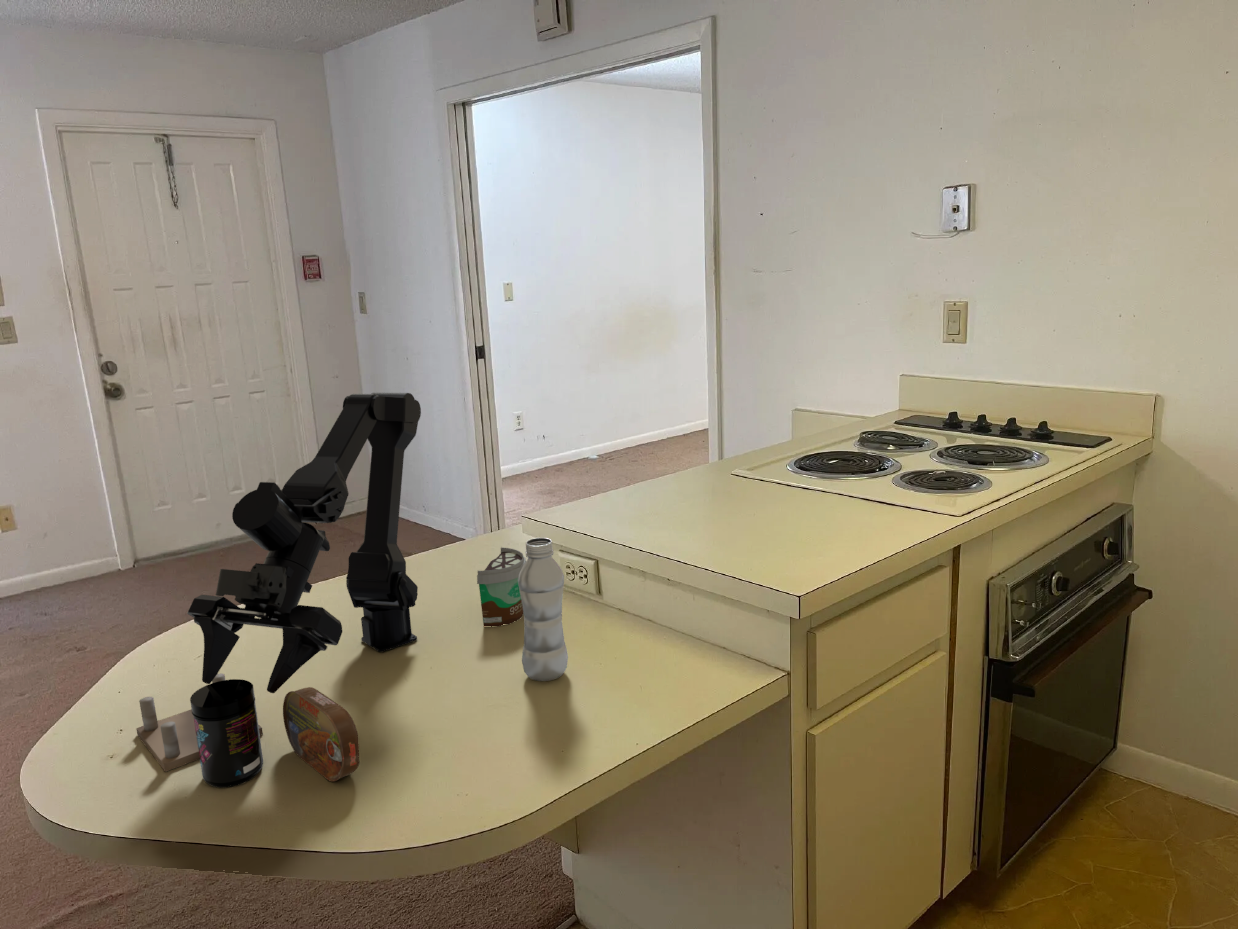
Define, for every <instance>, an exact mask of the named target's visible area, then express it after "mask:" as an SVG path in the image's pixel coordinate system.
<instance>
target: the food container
mask: <svg viewBox="0 0 1238 929" xmlns="http://www.w3.org/2000/svg"><path fill="white" fill-rule="evenodd" d="M526 561H527V559H526V556H524V553H523V552H521V551H520V550H518V549H515V548H509V547H502V546H501V547H500V553H499V555H498V556H497V557H496V558H494V559H492V560H491V561H490V562H489V563H488V564H487V566H486V567H485V569H484V570H477V575H476V584H477V585H478V588H479V589H478V590H479V597H480V606H481V615H482V623H483V627H484V626H491V627H490V628H493V627H492V626H497V627H502V626H501V625H503V624H508V625H510V623H511V624H513V622H514V621H516V622H517V620H518V621H519V620H521V619H522V617H524V614H523V605H522V600H521V595H520V590H519V585H518V577H519V573H520V571H521V569H522V567H523V565H524V564H525V562H526ZM520 618H521V619H520ZM514 623H515V622H514ZM503 626H504V625H503Z"/></svg>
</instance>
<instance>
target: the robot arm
mask: <svg viewBox="0 0 1238 929" xmlns="http://www.w3.org/2000/svg"><path fill="white" fill-rule="evenodd" d="M421 414H422V409H421V405H420V402H419V400H417V399H415V397H414V395H413V394H412V393H410V392H372V393H352V394H350V395H346V396H345V398H344V399H343V403H342V409H341V411H340V413H339V415H338V417H337V418H336V421H334V424H333V425H332V426H331V429H330V431H329V432H328V434H327V436H326V438H325V439H324V441H323V443H322V444H321V446H320V447H319V449H318V451H317V453H316V454H315V456H314V458H313V459H312V460H311V461H310V462H309V463H306V464H305V465H303V466H301V467H299V468H297V469H296V470H295V471H294V472H293V474H292V475H291V476H290V477H289V478H288V480H287V481H286V482H285V483H284V485H283V486H282V489H281V487H280V486H279V485H278V484H277V483H276V482H275V481H260V482H259V483H258V486H257V488H256V489H255V490H252V491H250V492H248V493H247V494H245V495H244V496H243V497H242V498H241V499H239V501H237V502H236V503H235V505H234V507H233V509H232V513H231V514H232V516H231V517H232V520H233V524H234V525H235V526H236V527H237V528H238V529H239V530H240V531H242V532H243V533H244V535H246V536H247V537H248V538H249V539H250V540H252V541H253V542H254V543H255V544H256V545H257V546H259V547H260V548H261V549H263V550H265V551H268V552H267V554H266V556H265V559H264V561H263V563H257V562H256V563H255V564H254V565H253V566H252V567H251V569H250V571H246V570H235V569H226V568H220V570H219V576H218V579H217V580H218V581H217V586H216V591H215V595H208V594H200V595H198V596H196V597H195V598H194V597H193V599H192V602H191V604H190V607H189V608H188V611H187V613H186V614H187V615H189V616H190V617H192V618H193V622H194V624H196V625H198V626H200V629H201V632H202V634H203V657H202V658H203V659H202V660H203V661H202V674H201V675H202V676H201V681H202V682H203V683H204V684H206V685H209V684H212V680H213V679H214V678H215V676H216V675H217V674H219V672H220V670H221V668H222V667H223V665H224V664H225V663H226V660H227V659H228V657H229V655H230V654H231V652H232V651H233V649H234V647H235V646H236V644H237V643H238V641H239V639H240V637H241V636H240V635H238V634H236V633H237V632H239V631H240V630H241V629H243V627H244V625H248V626H255V627H257V626H258V627H265V628H273V629H274V628H275V629H281V630H282V646H281V648H280V651H279V654H278V656H277V659H276V661H275V663H274V666H273V668H272V671H271V674H270V677H269V680H268V683H267V687H266V691H267V692H269V694H275V693H276V692H277V691H279V689H280V688H281V687H283V685H284V684H286V682H287V681H288V680H289V679H290V678H291V677H292V676H293V675H294V674H295V673H297V671H298V670H300V669H301V668H302V666H304V665H305V664H306V663H307V662H309V661H310V660H311V659H312V658H313V657H314V656H315V655H317V654H318V653H319V652H320V651H326V650H327V649H328V645H330V646H338V645H339V643H340V640H341V637H342V634H343V625H342V623H341V620H339V619H338V618H337V617H335V615H333V614H332V613H330V612H329V611H328V610H326V609H325V608H324V607H322V606H313V605H301V604H299V602H300V600H301V598H302V596H303V593H306V594H307V593H308V594H310V592H311V591H312V587H313V585H312V584H311V583H310V582H309V581H308V580H309V578H310V575H311V573H312V570H313V569H314V568H313V567H314V565H315V562H316V560H317V558H318V556H319V552H320V551H321V552H322V551H323V552H329V551H330V549H331V546H330V542H329V540H328V538H327V536H326V531H325V530H321V529H317V528H316V527H315V526H314V525H313V524H314V523H318V524H319V523H320V524H330V523H336V522H337V521H338V520H339V518H340V517H341V515H342V513H343V512H344V509H345V506H346V503H347V500H348V497H349V490H348V485H347V480H348V477H349V474H350V472H351V471H352V469H353V467H354V465H355V463H356V461H357V460H358V457H359V455H360V453H361V452H362V450H363V448H364V446H365V444H366V442H367V441H368V442H369V446H370V447H371V451H370V452H371V453H370V455H371V456H370V464H369V474H368V475H369V477H368V487H367V488H368V489H367V490H368V491H367V500H366V511H365V512H366V513H365V523H364V534H363V542H362V543H361V544H360V546H359V548H358V549H357V550H356V551H352V552H350V554H349V556H348V570H347V574H346V578H345V579H346V583H345V584H346V585H345V586H346V589H347V592H348V594H349V597H350V601H351V602H352V605H353V608H356V609H357V608H362V611H363V615H362V617H361V619H360V620H361V629H362V636H361V641H362V642H363V643H365V644H366V645H368V646H369V647H371V648H372V649H374V650H376V651H377V652H378V653H384V652H387V651H389V650H393V649H395V648H398V647H401V646H404V645H406V644H410V643H412V642H415V641H417V640H418V636H417V635H415V634H413V633H412V624H411V623H412V622H411V612H410V608H414V607H415V606H416V605H417V604H416V601H417V599H418V590H419V589H418V588H419V587H418V585H417V584H416V583H415V582H414V581H413V580H412V579H411V577H410V576H408V574H407V562H406V558H404V557H405V556H404V555H403V553H402V552H401V549H400V547H399V546H398V531H399V530H398V528H399V519H400V505H401V495H402V482H403V473H404V472H403V469H404V459H405V458H404V457H405V451H406V449H407V448H408V447H409V446H410V444H411V442H412V441H413V440H414V438H415V437H416V435H417V430H418V424H419V421H420V419H421V416H422V415H421ZM310 523H313V524H310ZM225 596H233V597H235V598H234V601H235V602H236V603H238V604H241V605H244V607H240V606H238V605H236V604H235V603H233V602H232V601H231V600H230V599H227V598H226V597H225Z"/></svg>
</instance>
